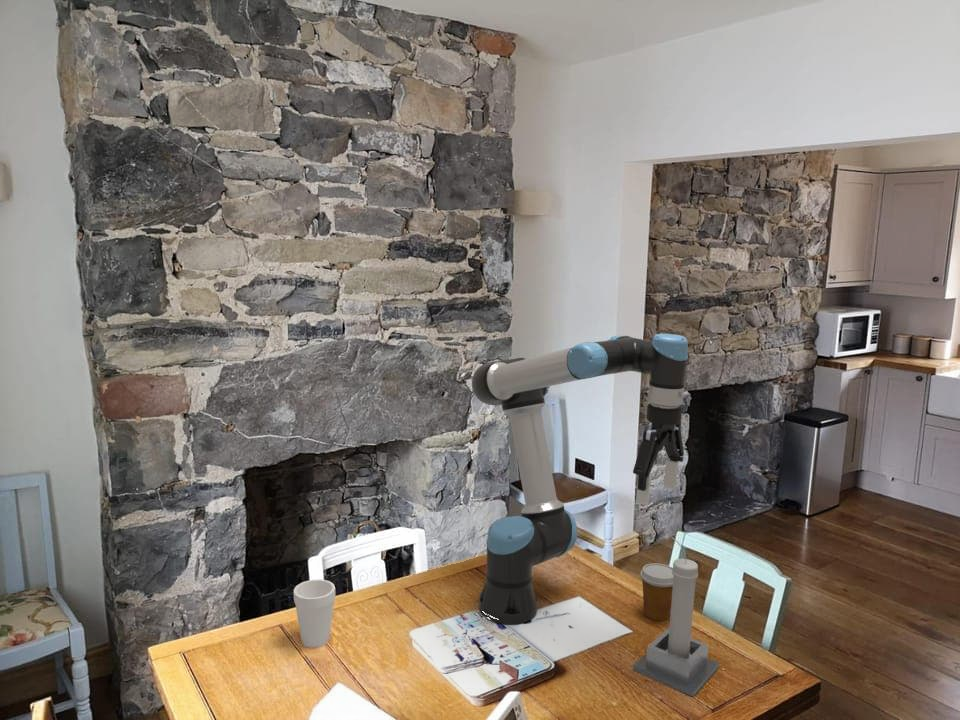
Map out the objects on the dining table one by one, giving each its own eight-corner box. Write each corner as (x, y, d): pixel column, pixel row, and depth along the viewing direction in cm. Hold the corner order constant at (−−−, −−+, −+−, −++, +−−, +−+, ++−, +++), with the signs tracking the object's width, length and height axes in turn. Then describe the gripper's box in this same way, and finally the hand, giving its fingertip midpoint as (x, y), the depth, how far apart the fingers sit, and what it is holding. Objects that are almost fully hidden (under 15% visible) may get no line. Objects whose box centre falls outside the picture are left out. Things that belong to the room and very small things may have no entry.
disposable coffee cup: (669, 628, 175) (672, 583, 173) (632, 616, 180) (635, 573, 178) (680, 611, 183) (683, 568, 181) (644, 601, 188) (647, 559, 186)
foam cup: (343, 640, 166) (343, 589, 164) (310, 656, 160) (309, 603, 157) (320, 625, 173) (319, 575, 170) (287, 639, 166) (285, 588, 164)
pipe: (691, 673, 155) (702, 545, 150) (662, 669, 156) (672, 542, 151) (689, 659, 160) (699, 534, 155) (660, 655, 161) (670, 531, 156)
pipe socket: (633, 670, 157) (634, 646, 156) (661, 644, 168) (662, 622, 167) (693, 697, 149) (695, 672, 148) (718, 667, 159) (720, 644, 158)
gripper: (654, 417, 144) (645, 515, 148) (704, 398, 163) (695, 485, 167) (621, 410, 149) (614, 505, 153) (673, 392, 167) (665, 477, 171)
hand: (656, 495), depth 160 cm, fingers open, 13 cm apart
